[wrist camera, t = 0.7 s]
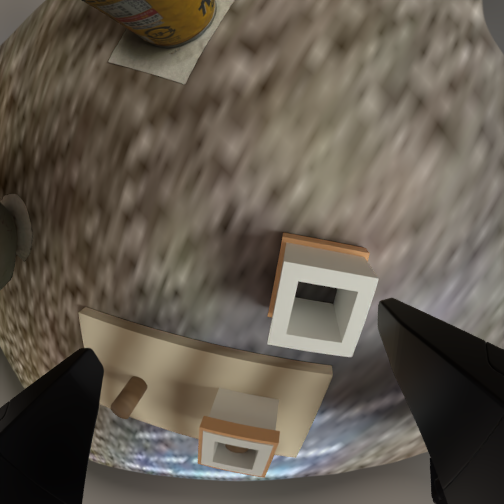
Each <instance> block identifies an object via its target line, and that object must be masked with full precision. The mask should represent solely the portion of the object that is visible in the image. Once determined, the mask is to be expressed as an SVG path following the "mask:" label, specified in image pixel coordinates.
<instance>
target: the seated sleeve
mask: <svg viewBox="0 0 504 504" xmlns="http://www.w3.org/2000/svg"><path fill="white" fill-rule="evenodd" d="M278 405H279V400H278V399H273V398H267V397H261V396H256V395H251V394H246V393H241V392H236V391H232V390H227V389H223V388H219V389H218V392H217V395H216V397H215V400H214V403H213V406H212V408H211V411H210V414H209V417H207V416H203V419H202V422H201V424H200V427H199V446H198V464H201V465H205V466H209V467H213V468H217V469H222V470H226V471H231V472H236V473H241V474H246V475H252V476H258V477H264V478H265V475H266V473H267V471H268V468H269V466H270V464H271V461H272V459H273V456H274V454H275V451H276V449H277V446H278V444H279V436H280V431H276V422H277V413H278ZM225 444H229V445H233V446H238V447H243V448H248V451H247V452H245V453H234V452H231V451H229V450H228V449H227V448H226V447H225Z"/></svg>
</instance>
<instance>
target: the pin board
mask: <svg viewBox="0 0 504 504" xmlns="http://www.w3.org/2000/svg"><path fill="white" fill-rule="evenodd" d="M78 313H79V320H80V327H81V333H82V338H83V344H84V348H91V349H92V350H93V351H94V352H95V354H96V355H97V357H98V359H99V360H100V362H101V363H102V365H103V368H104V376H103V382H102V389H101V396H100V403H99V404H101V405H103V406H106V407H108V408H110V409H111V410H112V411H113V413H114V414H116V415H117V416H118V417H120V418H123V419H128V418H129V416H130V417H132V418H135V419H138V420H140V421H143V422H146V423H149V424H151V425H154V426H157V427H160V428H163V429H166V430H169V431H173V432H176V433H179V434H182V435H186V436H189V437H193V438H196V439H199V427H200V424H201V422H202V419H203V416H207V417H209V414H210V411H211V408H212V406H213V403H214V400H215V397H216V395H217V392H218V389H219V388H223V389H227V390H232V391H236V392H241V393H246V394H251V395H256V396H261V397H267V398H273V399H278V400H279V405H278V413H277V422H276V431H280V436H279V444H278V446H277V449H276V451H275V454H274V455H280V456H287V457H296V456H297V454H298V452H299V450H300V448H301V446H302V444H303V442H304V440H305V438H306V436H307V434H308V432H309V430H310V427H311V425H312V423H313V421H314V419H315V416H316V414H317V412H318V410H319V407H320V405H321V403H322V400H323V398H324V396H325V393H326V391H327V388H328V386H329V384H330V381H331V379H332V376H333V372H332V366H331V365H323V364H316V363H309V362H303V361H297V360H291V359H285V358H279V357H273V356H268V355H263V354H257V353H252V352H247V351H243V350H238V349H233V348H229V347H224V346H220V345H215V344H211V343H207V342H203V341H199V340H194V339H190V338H187V337H183V336H179V335H175V334H171V333H168V332H164V331H161V330H157V329H153V328H150V327H147V326H143V325H140V324H137V323H133V322H130V321H127V320H124V319H121V318H117V317H114V316H111V315H108V314H105V313H102V312H99V311H96V310H94V309H91V308H88V307H85V308H84V309H82V310H81V311H80V312H78ZM225 447H226V448H227V449H228V450H229V451H231V452H234V453H245V452H247V451H248V448H243V447H238V446H233V445H229V444H225Z"/></svg>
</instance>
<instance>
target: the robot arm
mask: <svg viewBox="0 0 504 504" xmlns="http://www.w3.org/2000/svg"><path fill="white" fill-rule="evenodd" d="M378 330H379V333H380V336H381V338H382V341H383V344H384V347H385V350H386V352H387V355H388V358H389V361H390V364H391V367H392V370H393V373H394V375H395V377H396V379H397V382H398V384H399V386H400V388H401V390H402V392H403V394H404V396H405V399H406V401H407V403H408V405H409V407H410V410H411V412H412V414H413V416H414V419H415V421H416V423H417V426H418V428H419V430H420V433H421V435H422V437H423V440H424V442H425V445H426V447H427V449H428V452H429V454H430V457H431V458H430V474H431V492H432V493H431V494H432V498H433V502H434V503H435V504H504V349H501V348H499V347H497V346H495V345H493V344H491V343H489V342H485V341H484V340H482V339H480V338H478V337H476V336H474V335H472V334H470V333H467V332H465V331H463V330H461V329H459V328H457V327H455V326H453V325H450V324H448V323H446V322H444V321H442V320H440V319H438V318H435V317H433V316H431V315H429V314H427V313H425V312H422V311H420V310H418V309H416V308H414V307H412V306H409V305H407V304H405V303H403V302H401V301H399V300H396V299H394V298H389V299H385V300H381V301H380V302H379V305H378ZM103 376H104V368H103V365H102V363H101V362H100V360H99V359H98V357H97V355H96V354H95V352H94V351H93V350H92V349H91V348H81V349H79V350H77V351H76V352H75V353H73V354H72V355H71V356H69V357H68V358H66V359H65V360H64V361H62V362H61V363H60V364H58V365H57V366H56V367H54V368H53V369H51V370H50V371H49V372H47V373H46V374H45V375H43V376H42V377H41V378H39V379H38V380H37V381H35V382H34V383H33V384H31V385H30V386H29V387H27V388H26V389H25V390H23V391H22V392H21V393H19V394H18V395H17V396H16V397H14V398H13V399H11V400H10V402H7V403H6V404H5V405H3V406H2V407H1V408H0V504H82V499H83V491H84V484H85V478H86V471H87V465H88V459H89V454H90V448H91V443H92V438H93V433H94V428H95V424H96V419H97V415H98V410H99V403H100V396H101V389H102V382H103Z"/></svg>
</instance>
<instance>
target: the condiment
mask: <svg viewBox="0 0 504 504" xmlns="http://www.w3.org/2000/svg"><path fill="white" fill-rule="evenodd" d="M82 1H84V2H86V3H87V4H89V5H91V6H93V7H94V8H96V9H98V10H99V11H101V12H102V13H104V14H106V15H107V16H109V17H111V18H112V19H114V20H115V21H117V22H118V23H120V24H122V25H123V26H125V27H126V30H125V32H124V34H123V35H122V38H121V39H120V41H119V43H118V45H117V46H116V48H115V49H114V51H113V53H112V55H111V57H110V59H109V61H108V62H110V63H114V64H117V65H121V66H125V67H129V68H132V69H136V70H140V71H143V72H147V73H151V74H154V75H157V76H160V77H164V78H167V79H170V80H173V81H176V82H179V83H182V84H185V83H186V81H187V79H188V77H189V75H190V73H191V71H192V70H193V68H194V66H195V64H196V62H197V60H198V58H199V56H200V55H201V53H202V51H203V49H204V47H205V46H206V44H207V43H208V41H209V39H210V38H211V36H212V35H213V33H214V32H215V30H216V28H217V27H218V25H219V23H220V22H221V20H222V19H223V17H224V15H225V14H226V12H227V11H228V9H229V8H230V6H231V4H232V3H233V2H234V0H82ZM178 48H179V49H180V50H178V51H176V49H178ZM173 51H175V53H174V54H172V55H171V54H170V53H171V52H173Z"/></svg>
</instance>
